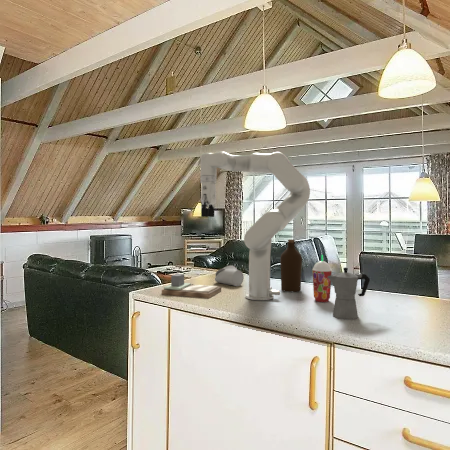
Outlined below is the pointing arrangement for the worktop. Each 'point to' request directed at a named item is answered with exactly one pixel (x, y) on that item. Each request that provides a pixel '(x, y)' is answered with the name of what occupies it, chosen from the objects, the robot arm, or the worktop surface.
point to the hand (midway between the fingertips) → (207, 216)
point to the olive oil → (291, 268)
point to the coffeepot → (347, 293)
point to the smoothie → (321, 281)
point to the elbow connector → (229, 276)
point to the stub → (177, 282)
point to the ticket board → (194, 291)
